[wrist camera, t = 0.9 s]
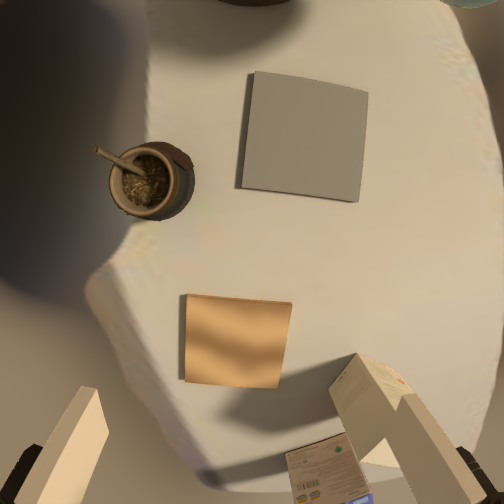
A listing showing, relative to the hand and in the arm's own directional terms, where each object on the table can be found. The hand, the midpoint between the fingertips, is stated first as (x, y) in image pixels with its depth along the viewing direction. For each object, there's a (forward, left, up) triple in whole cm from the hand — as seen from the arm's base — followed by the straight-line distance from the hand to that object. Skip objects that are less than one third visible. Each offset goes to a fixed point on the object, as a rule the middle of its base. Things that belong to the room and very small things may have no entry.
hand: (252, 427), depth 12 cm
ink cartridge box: (+27, +14, -22) cm, 38 cm away
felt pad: (-15, +5, -22) cm, 27 cm away
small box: (+13, +17, -22) cm, 31 cm away
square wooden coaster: (+8, 0, -22) cm, 23 cm away
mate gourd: (-9, -9, -22) cm, 25 cm away
